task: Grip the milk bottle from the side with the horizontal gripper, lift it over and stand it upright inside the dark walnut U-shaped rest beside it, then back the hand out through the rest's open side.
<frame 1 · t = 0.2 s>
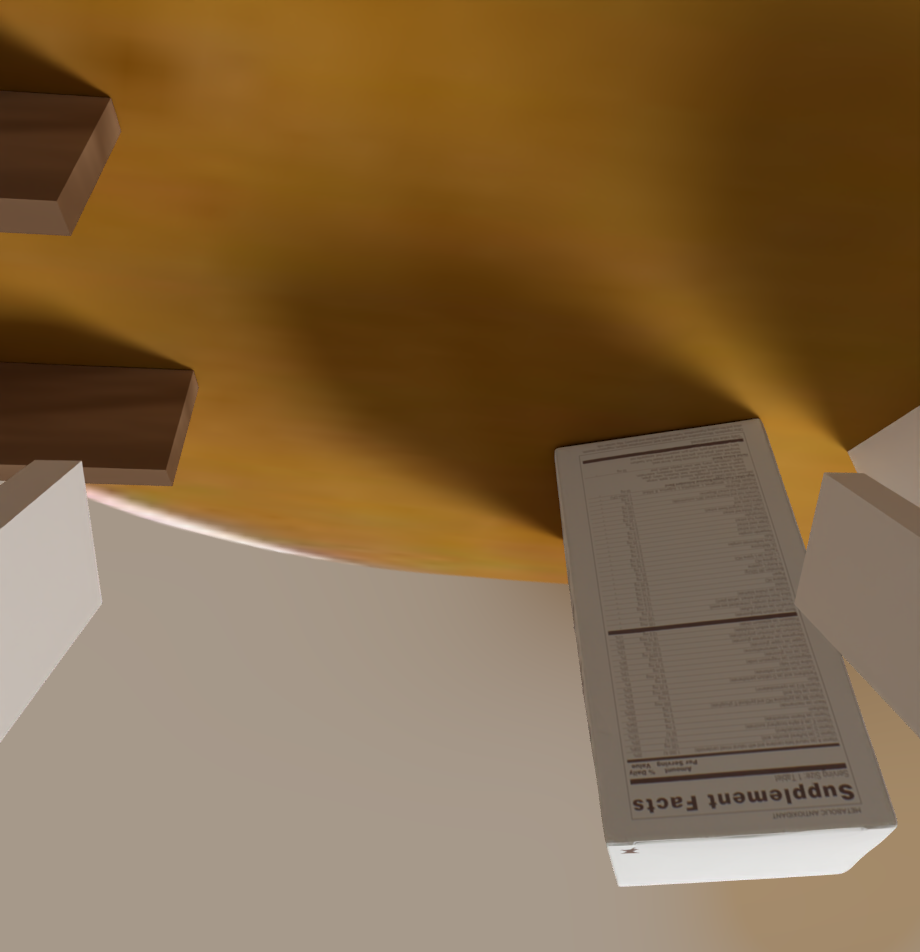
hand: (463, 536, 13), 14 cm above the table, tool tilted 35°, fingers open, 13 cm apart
walnut U-rest: (14, 261, 26), on the table
supplement box: (655, 484, 37), on the table
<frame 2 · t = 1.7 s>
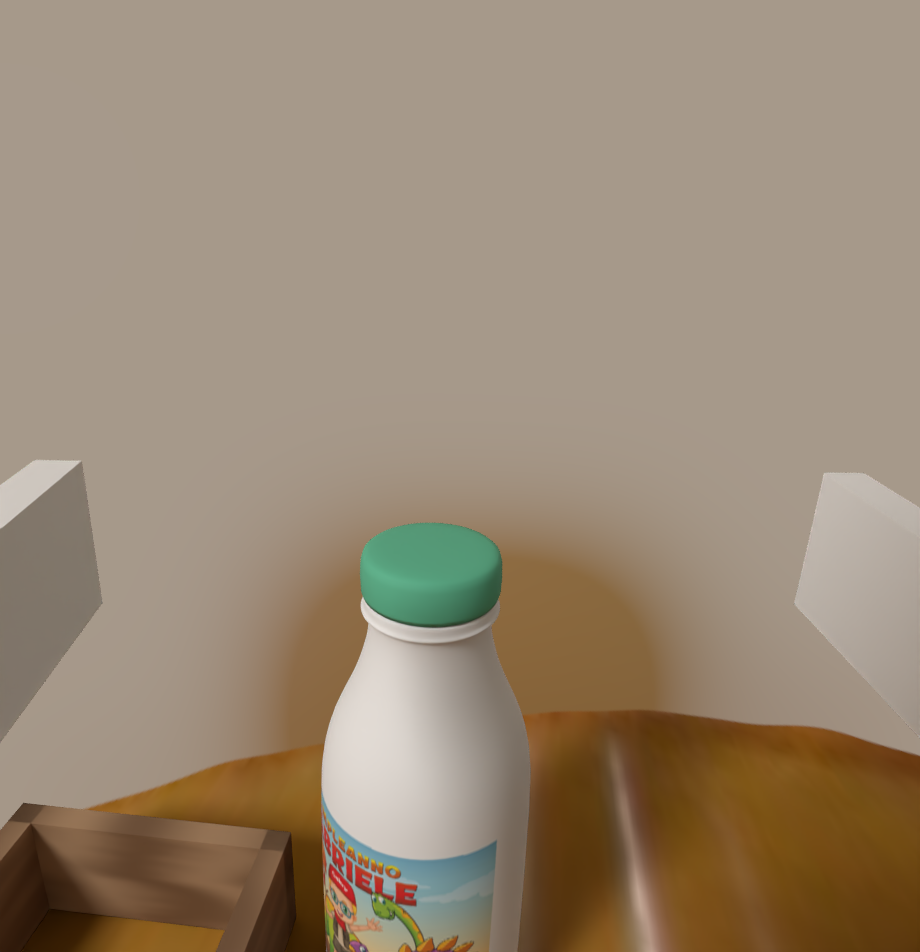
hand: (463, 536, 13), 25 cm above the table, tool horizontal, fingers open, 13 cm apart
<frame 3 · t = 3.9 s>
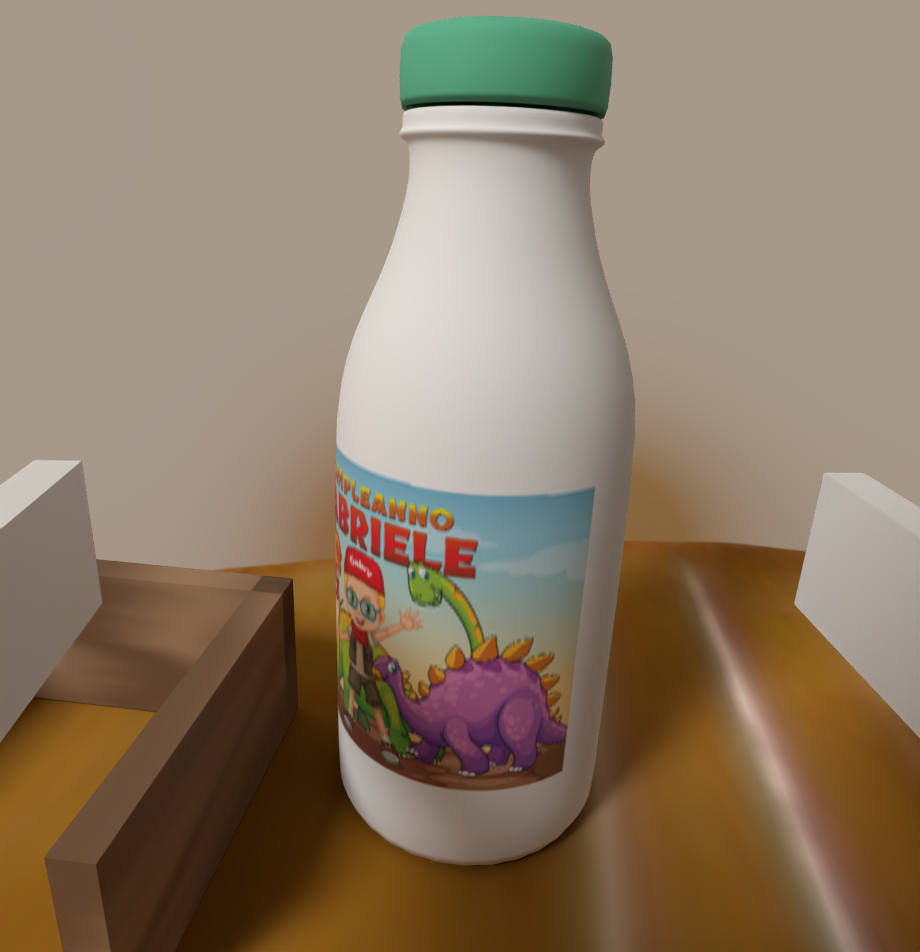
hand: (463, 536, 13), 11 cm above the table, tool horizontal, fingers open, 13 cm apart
walnut U-rest: (16, 821, 21), on the table
milk bottle: (465, 776, 23), on the table
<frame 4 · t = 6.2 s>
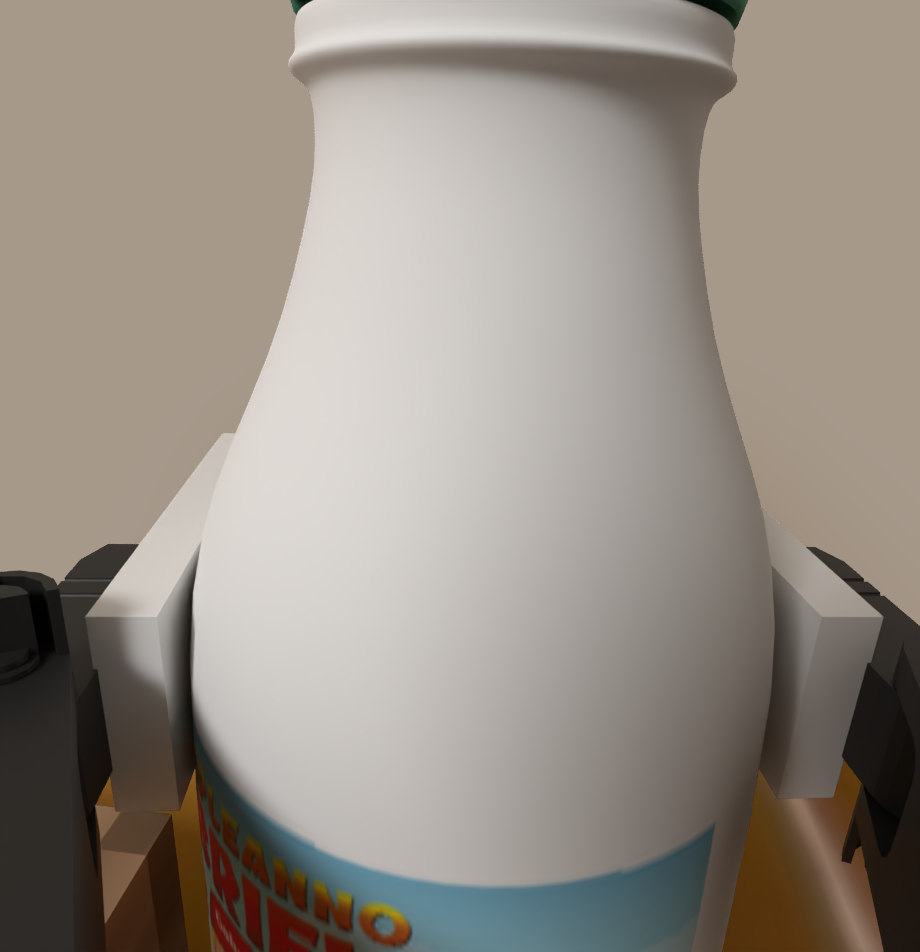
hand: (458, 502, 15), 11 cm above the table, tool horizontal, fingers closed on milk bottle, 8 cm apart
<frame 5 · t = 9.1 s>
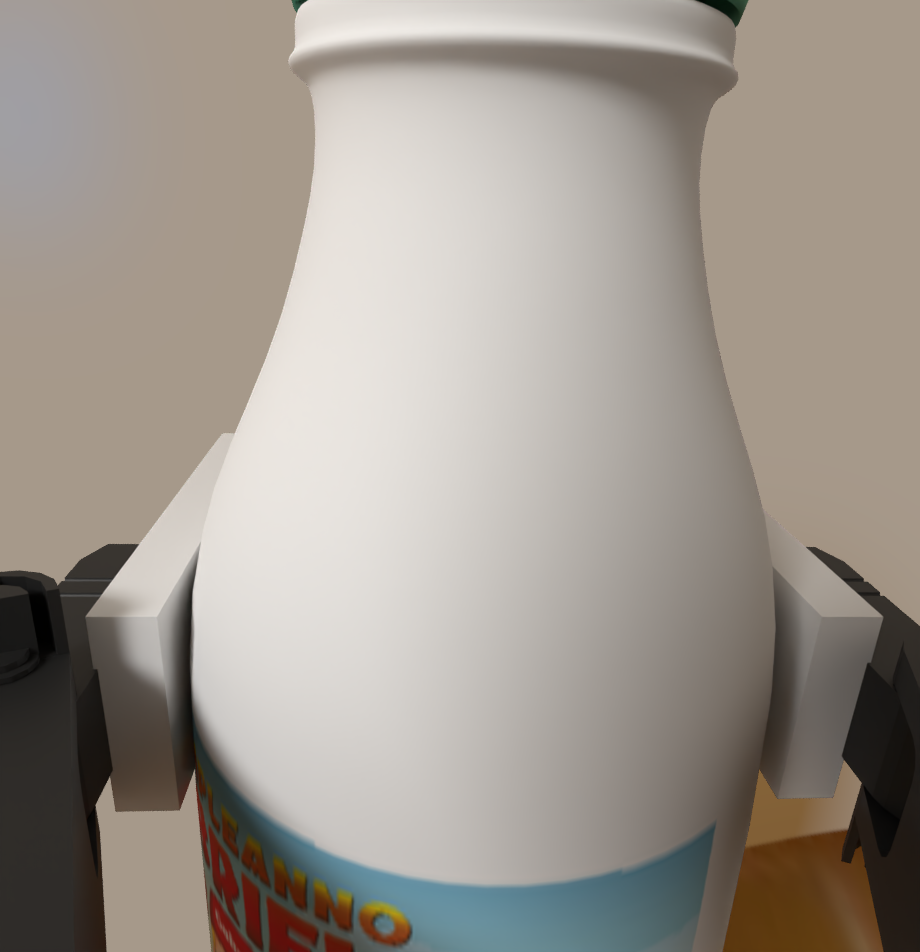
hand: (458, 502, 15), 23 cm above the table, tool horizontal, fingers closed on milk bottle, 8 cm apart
when the fingers open (12 cm above the table, at t = 11.8 s): milk bottle drops 1 cm, on the table.
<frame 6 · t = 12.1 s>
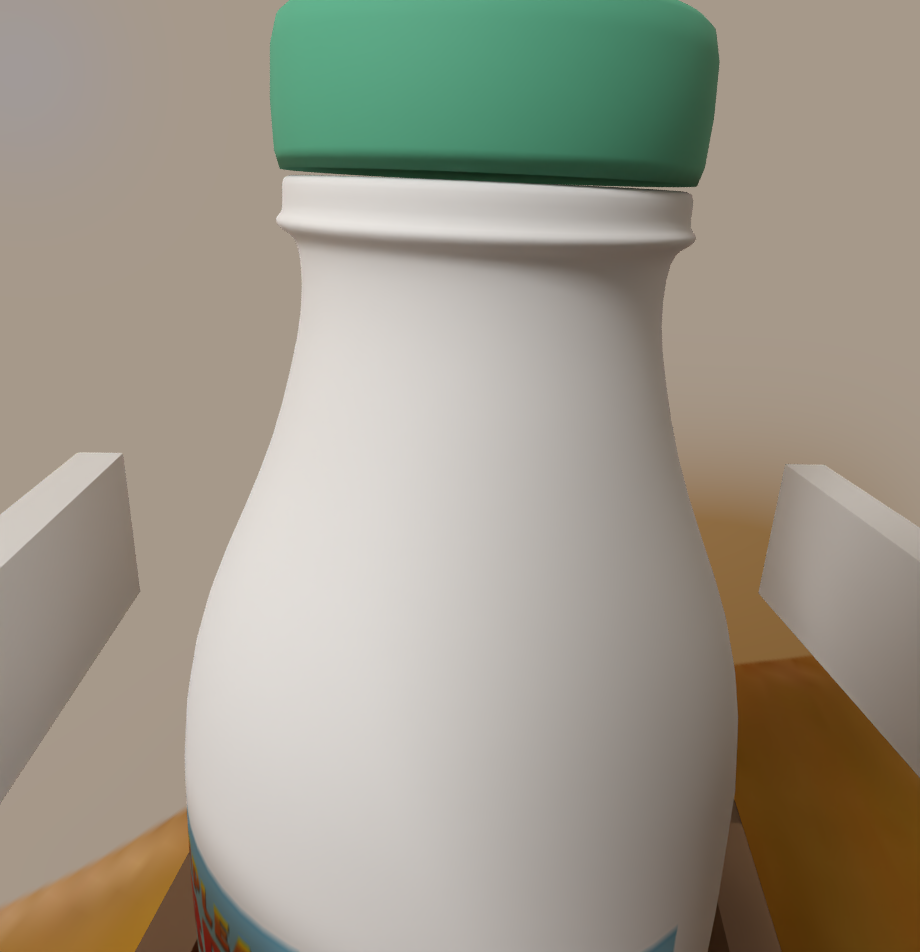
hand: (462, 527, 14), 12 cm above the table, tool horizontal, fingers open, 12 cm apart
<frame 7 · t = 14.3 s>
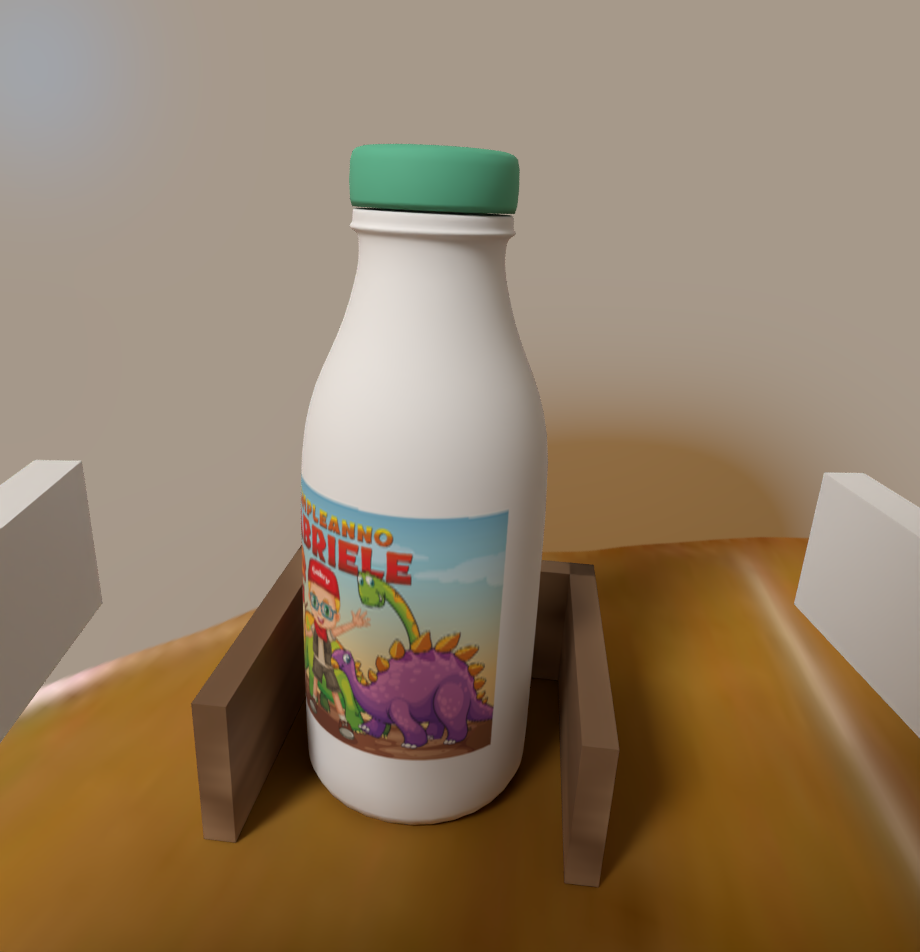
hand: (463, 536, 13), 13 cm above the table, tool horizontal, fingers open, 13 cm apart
walnut U-rest: (422, 748, 27), on the table
milk bottle: (416, 753, 27), on the table
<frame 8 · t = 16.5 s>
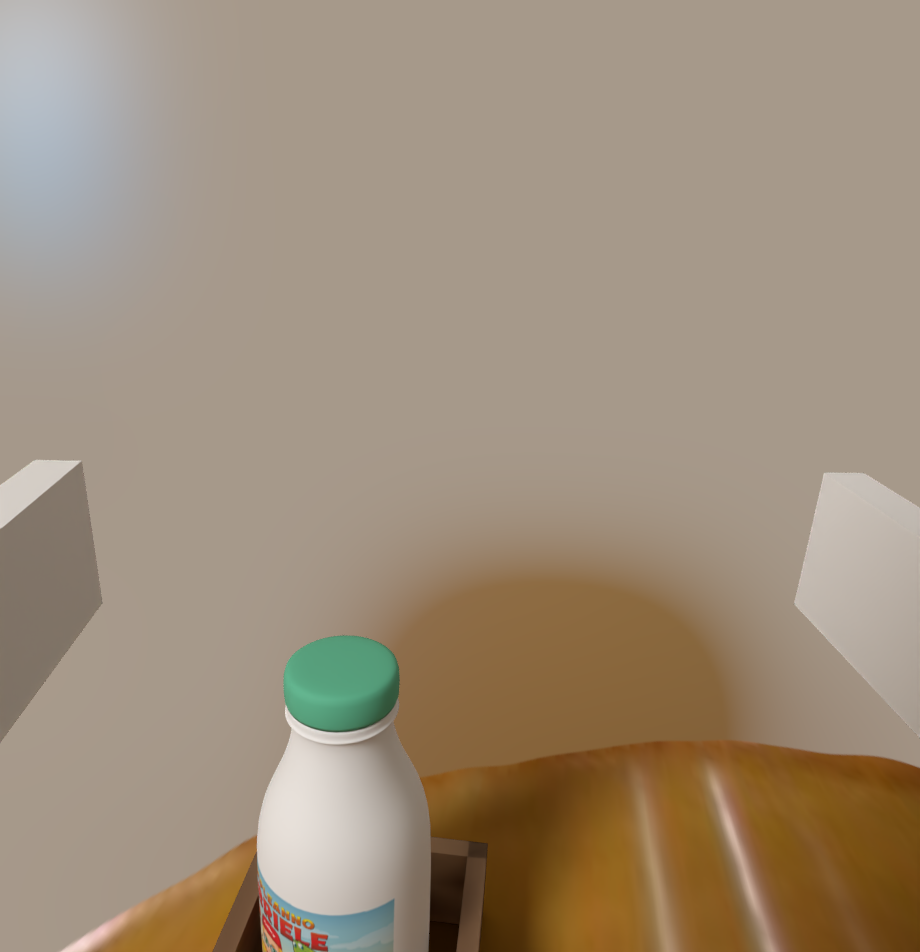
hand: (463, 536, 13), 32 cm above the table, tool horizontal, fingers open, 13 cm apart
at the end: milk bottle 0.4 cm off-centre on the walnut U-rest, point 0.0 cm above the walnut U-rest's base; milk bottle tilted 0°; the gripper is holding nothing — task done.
